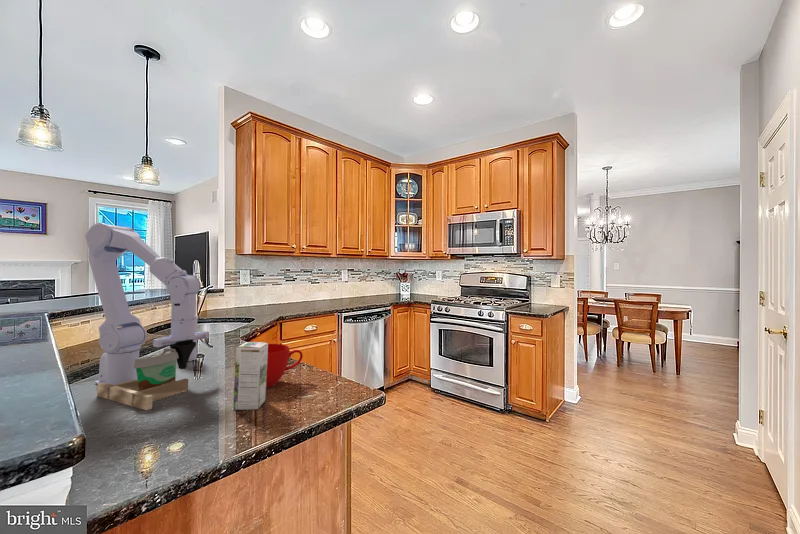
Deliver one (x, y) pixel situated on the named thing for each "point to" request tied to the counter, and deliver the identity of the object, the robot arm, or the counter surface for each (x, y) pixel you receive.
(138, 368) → the food container
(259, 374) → the syrup box
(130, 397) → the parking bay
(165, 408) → the counter surface
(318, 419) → the counter surface
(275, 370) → the ceramic cup
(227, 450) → the counter surface
